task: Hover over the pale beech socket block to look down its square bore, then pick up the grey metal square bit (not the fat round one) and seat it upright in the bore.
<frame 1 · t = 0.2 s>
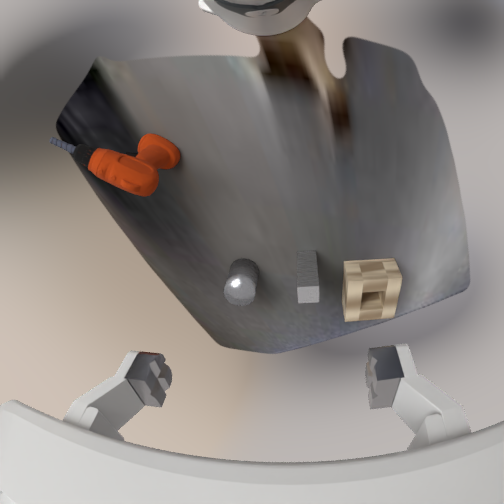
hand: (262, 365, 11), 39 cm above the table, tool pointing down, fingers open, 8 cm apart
toy drill: (139, 139, 46), on the table
round bit: (244, 270, 58), on the table
square bit: (306, 258, 55), on the table
socket block: (367, 280, 56), on the table
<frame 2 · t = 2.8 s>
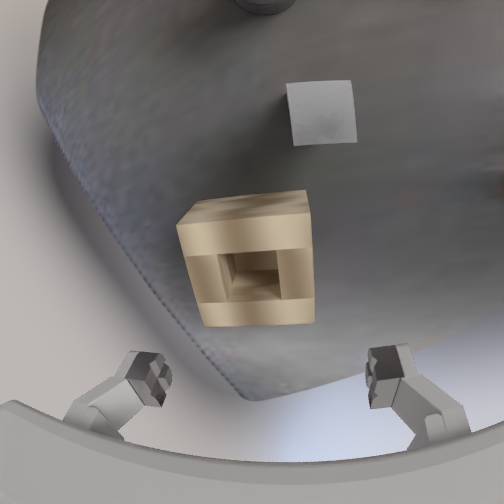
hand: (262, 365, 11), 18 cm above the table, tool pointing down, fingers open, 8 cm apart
square bit: (309, 110, 23), on the table
socket block: (257, 244, 29), on the table
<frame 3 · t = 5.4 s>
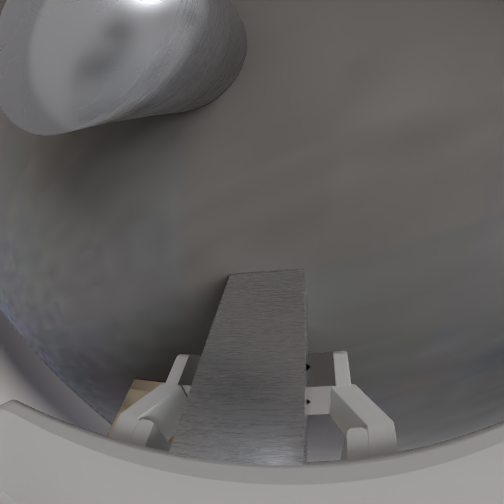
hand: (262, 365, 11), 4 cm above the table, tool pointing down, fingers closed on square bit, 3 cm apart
round bit: (178, 49, 10), on the table
square bit: (270, 301, 14), on the table, touching gripper
socket block: (213, 421, 21), on the table
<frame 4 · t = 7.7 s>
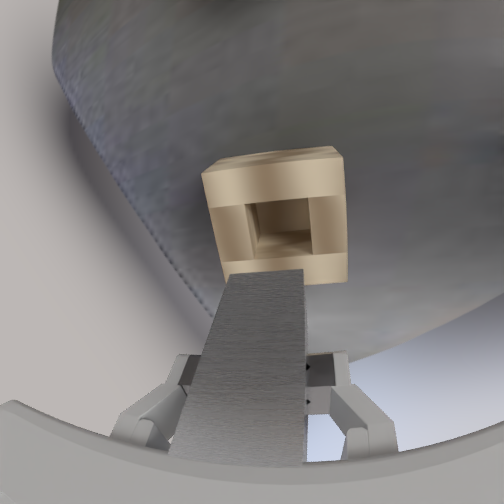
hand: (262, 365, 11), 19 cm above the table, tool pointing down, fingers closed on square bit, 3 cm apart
square bit: (270, 301, 14), point 15 cm above the table, touching gripper
socket block: (282, 204, 27), on the table
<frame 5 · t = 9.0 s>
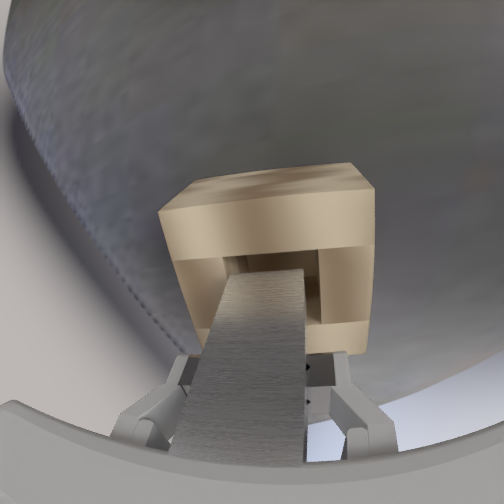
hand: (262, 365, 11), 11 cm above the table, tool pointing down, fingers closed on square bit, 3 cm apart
square bit: (270, 301, 14), point 7 cm above the table, touching gripper
socket block: (281, 241, 20), on the table
when the fingers open (8 cm above the table, at t = 9.9 s): square bit drops 2 cm, resting on socket block.
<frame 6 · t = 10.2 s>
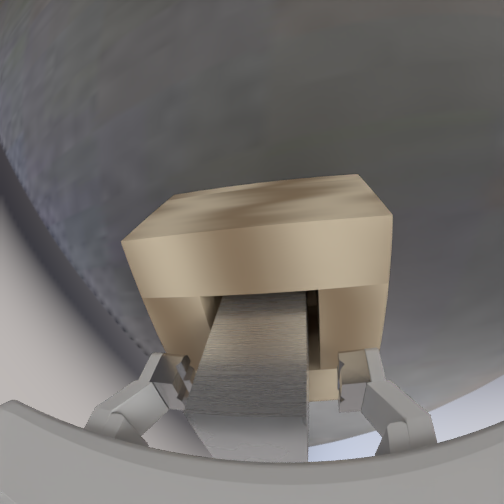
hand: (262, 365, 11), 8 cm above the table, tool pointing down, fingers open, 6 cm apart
square bit: (274, 274, 17), point 1 cm above the table, touching socket block
socket block: (274, 266, 17), on the table
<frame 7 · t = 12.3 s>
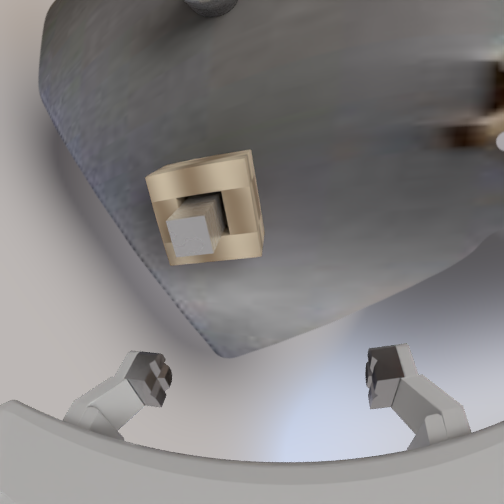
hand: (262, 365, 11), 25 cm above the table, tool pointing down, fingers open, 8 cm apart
square bit: (214, 200, 33), point 1 cm above the table, touching socket block
socket block: (215, 198, 34), on the table
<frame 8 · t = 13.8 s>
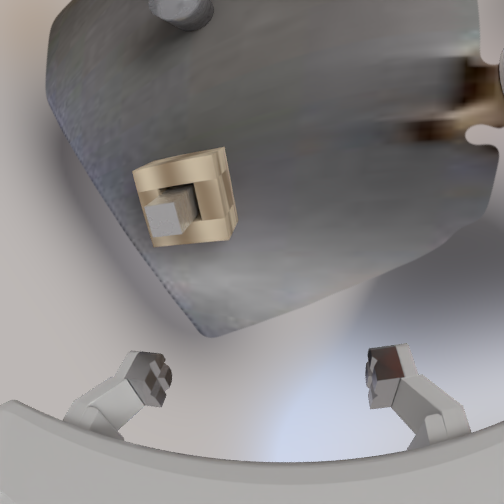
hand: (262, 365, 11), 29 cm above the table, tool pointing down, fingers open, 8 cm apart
round bit: (192, 12, 27), on the table
square bit: (193, 191, 38), point 1 cm above the table, touching socket block
socket block: (195, 189, 39), on the table
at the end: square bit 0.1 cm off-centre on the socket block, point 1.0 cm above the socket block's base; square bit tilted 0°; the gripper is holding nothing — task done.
